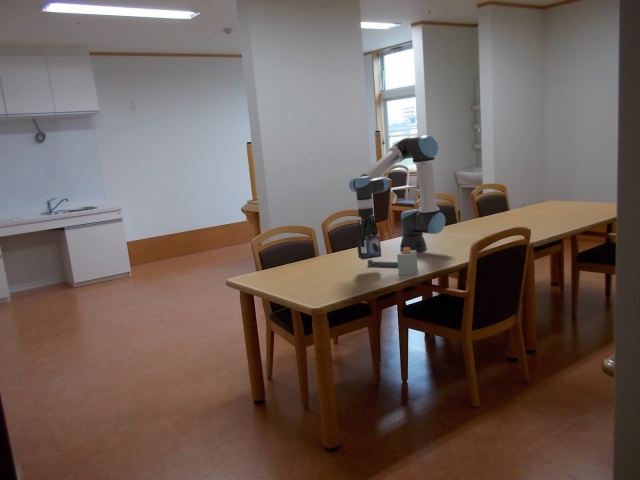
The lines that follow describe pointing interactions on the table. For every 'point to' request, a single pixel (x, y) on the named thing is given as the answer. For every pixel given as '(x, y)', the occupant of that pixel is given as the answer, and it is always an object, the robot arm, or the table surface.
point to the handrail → (382, 263)
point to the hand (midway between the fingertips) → (369, 250)
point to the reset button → (406, 250)
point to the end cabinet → (407, 263)
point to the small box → (370, 247)
